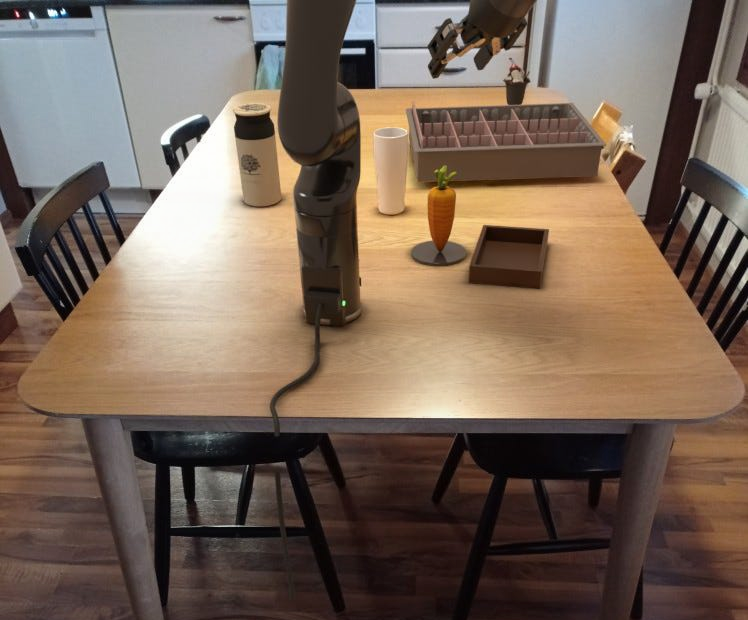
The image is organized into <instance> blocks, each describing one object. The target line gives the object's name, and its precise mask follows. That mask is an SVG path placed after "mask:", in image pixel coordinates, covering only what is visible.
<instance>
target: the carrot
mask: <svg viewBox="0 0 748 620" xmlns="http://www.w3.org/2000/svg"><path fill="white" fill-rule="evenodd" d="M446 170H447V166H443V167H442V169H440V171H438V170H436V171H435V172H434V173H435V176H436V179H437V181H438V182H437V186H434V187H432V188H431V189H430V190H429V192H428V193H427V222H428V228H429V234H430V238H431V241H433V243H434V245H435V247H436V249H437V250H438V251H439V252H441V251H442V250H443V249H444V247H445V245H446V243H447V241H449V240H450V239H449V238H450V236H451V233H452V229H453V225H454V221H455V215H456V214H455V213H456V202H457V193H456V190H455V189H454V188H452V187H450V186H448V184H449V183H450V182H451V181H450V179H451V178H452V177H453V176H455V175H457V173H456V172H453V173H451V174H450V175H449V176H448V178H447V177H446Z"/></svg>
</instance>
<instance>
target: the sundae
mask: <svg viewBox="0 0 748 620" xmlns="http://www.w3.org/2000/svg"><path fill="white" fill-rule="evenodd" d="M508 60H509V61H511V66H510V67H509V68H508V73H506V76H505V77H504V79H503V80H502V81H503V82H504V85H505V97H506V98H505V99H506V105H523V103H524V99H525V94H526V89H527V85H528V84H529V83H531V79H530V78H529V77H528V76H529V75H530V73H531V71H530V70H528V72H527V73H526V74H525V70H524V69H523V68H522V67H520V66H519V65H517V64H516V62H515V61H514V60H513V58H512V57H509V58H508ZM513 65H514V66H513Z"/></svg>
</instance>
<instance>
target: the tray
mask: <svg viewBox="0 0 748 620" xmlns="http://www.w3.org/2000/svg"><path fill="white" fill-rule="evenodd" d="M549 234H550V229H549V228H537V227H524V226H523V227H521V226H519V227H518V226H506V225H493V224H483V225H482V227H481V230H480V232H479V236H478V239H477V243H476V246H475V249H474V251H473V254H472V257H471V260H470V263H469V267H468V269H469V270H468V283H471V284H481V285H492V286H493V285H494V286H495V285H496V286H507V287H519V288H528V289H529V288H531V289H540V288H541V283H542V277H543V272H544V266H545V260H546V255H547V249H548V243H549Z"/></svg>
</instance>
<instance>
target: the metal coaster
mask: <svg viewBox="0 0 748 620" xmlns="http://www.w3.org/2000/svg"><path fill="white" fill-rule="evenodd" d="M410 256H411V259H413V260H414V261H415V262H417V263H419V264H423V265H426V266H433V267H444V266H452V265H456V264H458V263H460V262H462V261H464V260H465V258H466V256H467V249H466V248H465V247H464V245H461V244H460V243H457V242H454V241H449V240H448V241H447V243H446V245H445V247H444V249H443V250H442V251H441V252H439V251H438V250H437V249H436V247H435V245H434V243H433V240H428V241H423V242H420V243H418V244H416V245H414V246H413V247H412V248H411V250H410Z"/></svg>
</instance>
